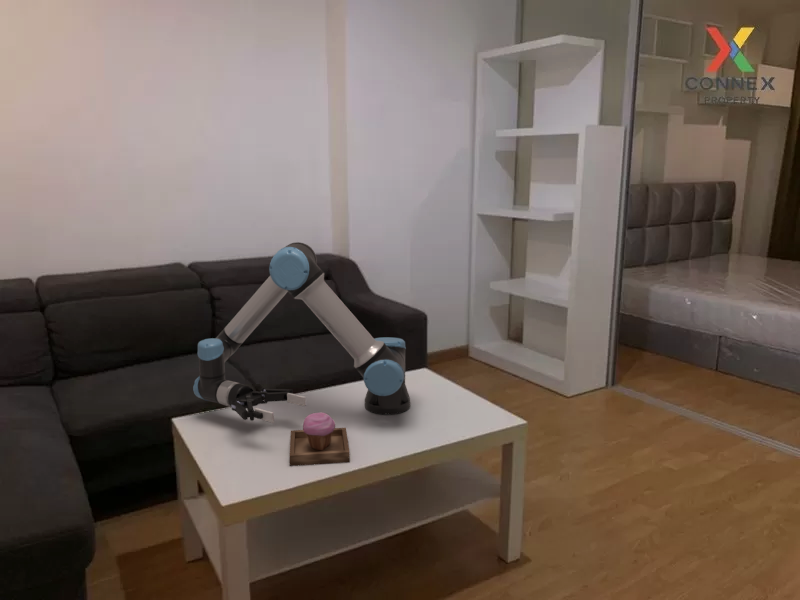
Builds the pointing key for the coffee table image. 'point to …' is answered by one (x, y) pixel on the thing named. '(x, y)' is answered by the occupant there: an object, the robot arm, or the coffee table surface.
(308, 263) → the robot arm
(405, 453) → the coffee table surface
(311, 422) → the cupcake
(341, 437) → the serving tray
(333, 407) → the coffee table surface
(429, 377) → the coffee table surface
